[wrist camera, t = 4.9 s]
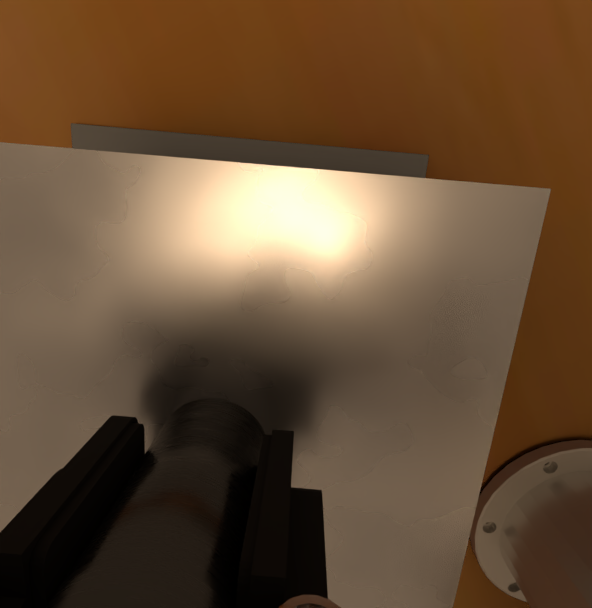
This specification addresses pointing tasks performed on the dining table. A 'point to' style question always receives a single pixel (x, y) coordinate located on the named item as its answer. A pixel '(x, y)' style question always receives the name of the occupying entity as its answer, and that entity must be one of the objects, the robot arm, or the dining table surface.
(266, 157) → the mat
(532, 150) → the dining table surface
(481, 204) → the lid
